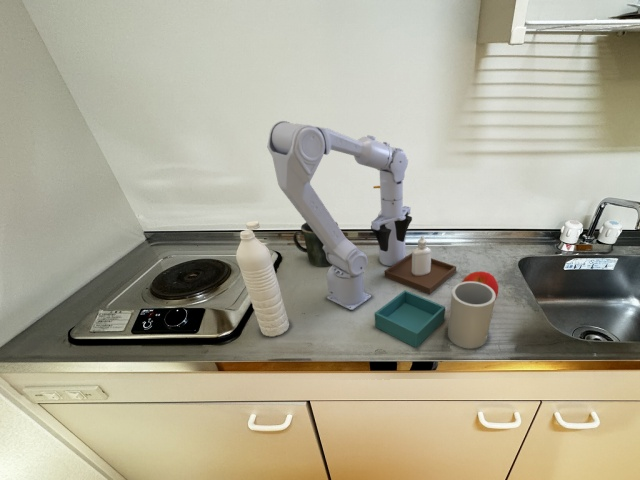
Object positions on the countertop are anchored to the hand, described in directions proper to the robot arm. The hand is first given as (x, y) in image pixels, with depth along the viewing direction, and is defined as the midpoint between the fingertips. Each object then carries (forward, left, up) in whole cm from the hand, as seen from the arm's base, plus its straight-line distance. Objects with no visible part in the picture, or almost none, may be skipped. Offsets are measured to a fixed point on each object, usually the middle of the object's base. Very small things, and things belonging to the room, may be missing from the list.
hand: (392, 245), depth 90 cm
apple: (+28, +1, -10) cm, 29 cm away
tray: (+6, +6, -10) cm, 13 cm away
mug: (-26, -6, -11) cm, 29 cm away
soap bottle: (-7, +8, -11) cm, 15 cm away
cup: (+30, -10, -10) cm, 34 cm away
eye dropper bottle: (+6, +6, -10) cm, 13 cm away
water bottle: (-9, -35, -11) cm, 38 cm away
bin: (+17, -15, -10) cm, 25 cm away
